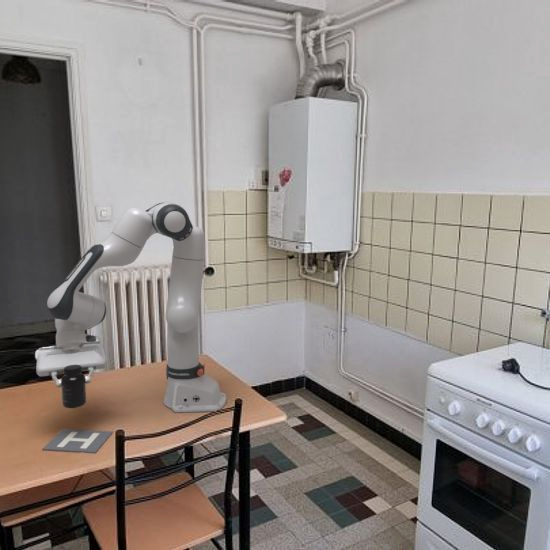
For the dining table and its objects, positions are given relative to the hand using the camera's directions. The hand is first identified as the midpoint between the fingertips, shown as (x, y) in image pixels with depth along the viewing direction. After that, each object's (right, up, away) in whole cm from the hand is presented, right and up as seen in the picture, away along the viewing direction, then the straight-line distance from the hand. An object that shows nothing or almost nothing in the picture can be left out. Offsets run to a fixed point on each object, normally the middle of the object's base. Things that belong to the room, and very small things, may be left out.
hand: (73, 384), depth 144 cm
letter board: (+2, -17, -2) cm, 17 cm away
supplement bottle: (-1, -7, +2) cm, 7 cm away
